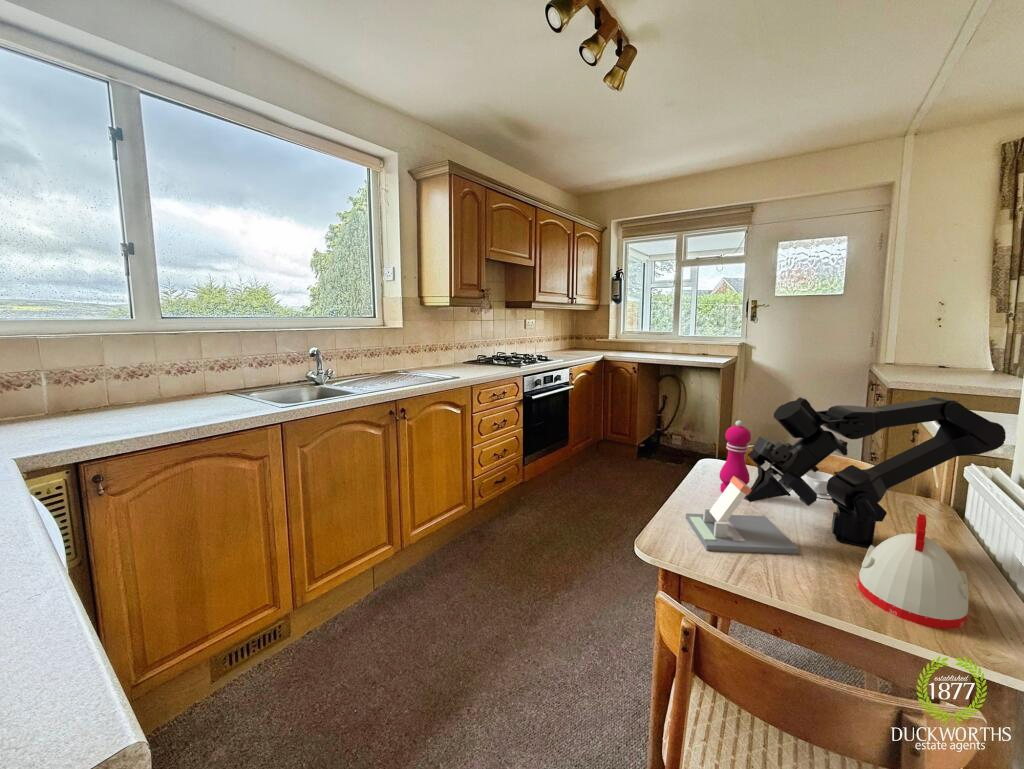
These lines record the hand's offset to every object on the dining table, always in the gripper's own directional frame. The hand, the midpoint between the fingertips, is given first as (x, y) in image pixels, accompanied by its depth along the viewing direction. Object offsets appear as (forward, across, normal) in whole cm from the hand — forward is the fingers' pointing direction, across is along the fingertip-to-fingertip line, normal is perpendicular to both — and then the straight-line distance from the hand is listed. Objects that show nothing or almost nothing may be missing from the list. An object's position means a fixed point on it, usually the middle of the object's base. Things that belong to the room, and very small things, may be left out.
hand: (747, 499), depth 95 cm
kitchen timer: (-7, +20, +19) cm, 29 cm away
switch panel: (+7, 0, +5) cm, 8 cm away
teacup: (-15, -25, +27) cm, 40 cm away
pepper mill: (+1, -23, +11) cm, 25 cm away
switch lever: (+8, 0, -1) cm, 8 cm away
